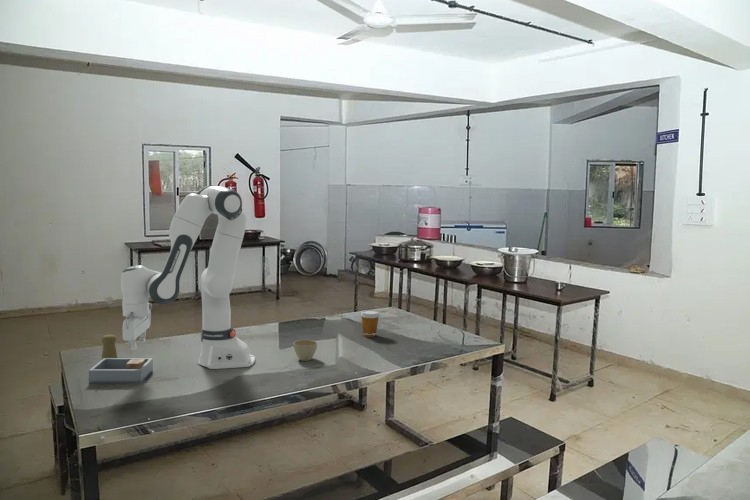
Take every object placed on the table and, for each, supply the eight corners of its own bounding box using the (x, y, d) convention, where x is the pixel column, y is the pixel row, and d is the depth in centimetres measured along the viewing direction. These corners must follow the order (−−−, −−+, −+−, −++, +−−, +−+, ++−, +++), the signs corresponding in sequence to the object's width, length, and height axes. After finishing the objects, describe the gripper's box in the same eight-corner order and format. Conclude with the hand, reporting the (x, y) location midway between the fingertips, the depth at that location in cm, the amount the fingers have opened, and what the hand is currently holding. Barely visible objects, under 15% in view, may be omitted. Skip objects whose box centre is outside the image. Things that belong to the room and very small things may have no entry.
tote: (152, 370, 212) (152, 358, 212) (141, 383, 198) (141, 370, 198) (104, 370, 210) (103, 358, 210) (89, 383, 197) (88, 370, 196)
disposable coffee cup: (378, 338, 269) (379, 314, 268) (359, 337, 269) (360, 313, 268) (379, 333, 278) (379, 310, 277) (360, 332, 279) (361, 309, 277)
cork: (111, 364, 218) (110, 337, 216) (97, 363, 219) (97, 336, 217) (121, 360, 223) (120, 333, 222) (108, 358, 225) (107, 332, 223)
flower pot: (321, 357, 236) (321, 341, 235) (308, 364, 226) (309, 347, 226) (301, 354, 240) (301, 338, 239) (288, 360, 231) (288, 343, 230)
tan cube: (145, 372, 208) (144, 359, 207) (140, 376, 203) (140, 363, 202) (131, 372, 207) (131, 359, 206) (126, 376, 202) (126, 363, 202)
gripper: (135, 316, 192) (137, 354, 194) (153, 303, 213) (155, 337, 214) (116, 316, 192) (119, 355, 194) (136, 303, 212) (138, 338, 214)
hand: (138, 345), depth 204 cm, fingers open, 8 cm apart
